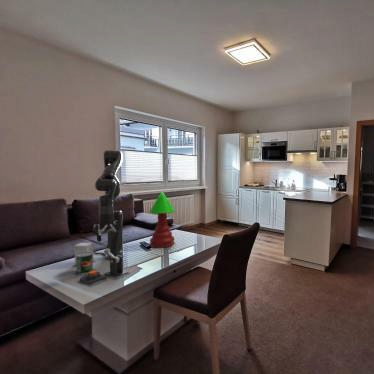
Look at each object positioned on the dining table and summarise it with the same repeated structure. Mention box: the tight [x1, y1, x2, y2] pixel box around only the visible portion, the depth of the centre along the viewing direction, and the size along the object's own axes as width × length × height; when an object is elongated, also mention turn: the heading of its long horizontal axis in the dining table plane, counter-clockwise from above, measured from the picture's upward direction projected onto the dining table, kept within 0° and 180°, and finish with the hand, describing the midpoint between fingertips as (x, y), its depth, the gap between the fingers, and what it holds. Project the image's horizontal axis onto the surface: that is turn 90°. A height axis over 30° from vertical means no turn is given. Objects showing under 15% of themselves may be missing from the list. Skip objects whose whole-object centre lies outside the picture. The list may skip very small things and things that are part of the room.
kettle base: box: [104, 255, 129, 279], centre depth 136 cm, size 10×8×11 cm
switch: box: [103, 248, 120, 263], centre depth 138 cm, size 12×3×3 cm, turn 65°
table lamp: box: [149, 191, 176, 249], centre depth 195 cm, size 20×20×45 cm
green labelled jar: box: [74, 242, 95, 266], centre depth 152 cm, size 8×6×13 cm
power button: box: [88, 269, 97, 276], centre depth 128 cm, size 4×4×2 cm
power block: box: [79, 270, 107, 285], centre depth 128 cm, size 10×8×4 cm
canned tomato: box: [76, 252, 94, 275], centre depth 139 cm, size 8×8×11 cm
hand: (106, 239), depth 138 cm, fingers open, 8 cm apart
